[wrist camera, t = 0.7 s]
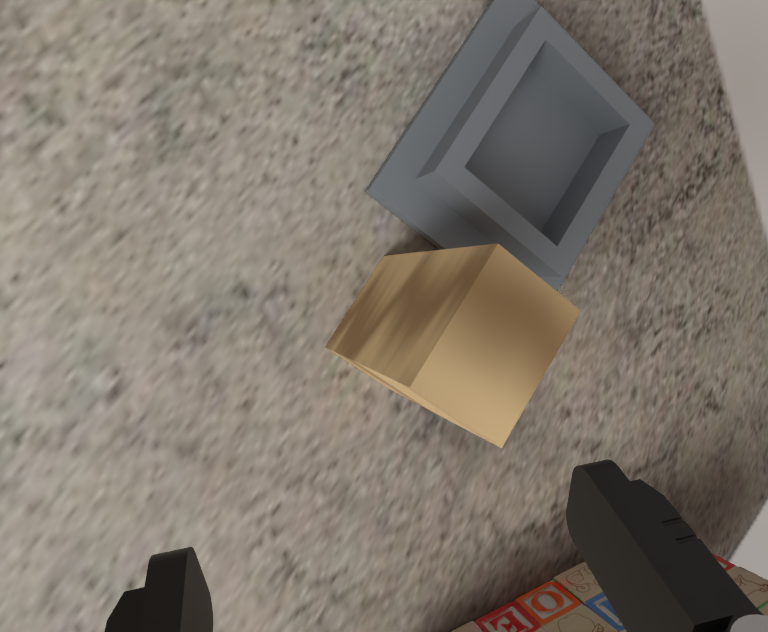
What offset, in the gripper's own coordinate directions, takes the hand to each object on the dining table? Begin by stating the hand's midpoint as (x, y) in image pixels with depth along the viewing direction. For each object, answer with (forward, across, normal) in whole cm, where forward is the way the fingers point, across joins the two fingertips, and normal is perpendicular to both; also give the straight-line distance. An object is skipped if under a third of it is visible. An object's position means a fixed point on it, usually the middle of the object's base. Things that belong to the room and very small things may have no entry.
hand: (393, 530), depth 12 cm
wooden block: (+19, -4, +7) cm, 20 cm away
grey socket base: (+24, -13, 0) cm, 27 cm away
